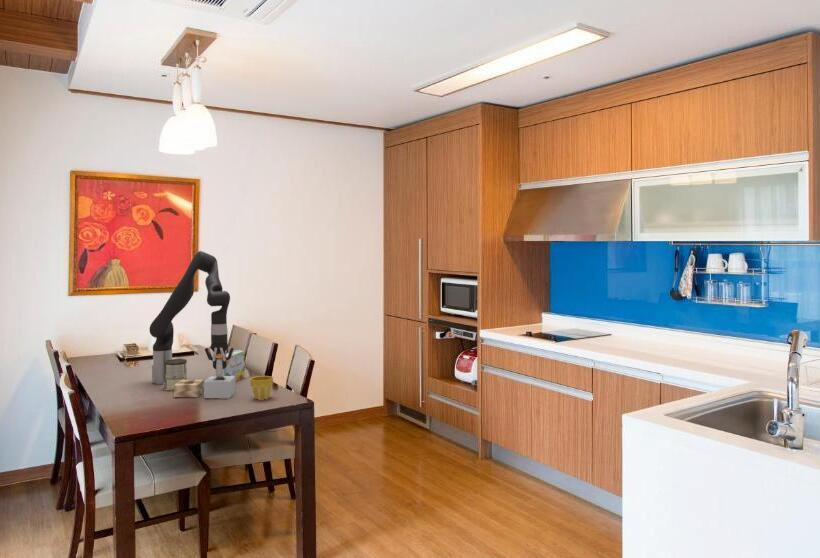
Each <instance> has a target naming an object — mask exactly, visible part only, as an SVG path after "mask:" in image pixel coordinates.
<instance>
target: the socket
mask: <svg viewBox="0 0 820 558" xmlns="http://www.w3.org/2000/svg"><path fill="white" fill-rule="evenodd" d="M236 391H237V389H236V382H235V376H224V380H216V375H215V376H212V375H211V376H209V377H207V379H206V380H204V392H203V399H204V398H219V399H231V398H232V397H233V396H234V394H235V393H236ZM232 395H233V396H232ZM231 396H232V397H231ZM230 397H231V398H230Z"/></svg>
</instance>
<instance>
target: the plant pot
mask: <svg viewBox="0 0 820 558" xmlns="http://www.w3.org/2000/svg"><path fill="white" fill-rule="evenodd" d="M249 381H250V382H249V383H250V387H251V388H252V392H253V396H254V399H255V400H256V399H258V400H257V401H265V400H264V399H266V400H269V399H270V397H271V396H270V395H271V390H272V386H274V377H272V376H271V375H270V376H269V375H257V376H253V377H250V380H249ZM268 398H269V399H268Z"/></svg>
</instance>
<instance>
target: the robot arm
mask: <svg viewBox="0 0 820 558" xmlns="http://www.w3.org/2000/svg"><path fill="white" fill-rule="evenodd" d="M198 270H199V271H202V272H203V273H207V274H208V275H206V276H207V277H206V278H205V281H204V283H205V287H206V290H207V295H206V303H207V304H208V305H209V306H210V307H221V308H220V309H218V310H214V311H212V312H211V314H210V318H211V319H210V323H211V324H210V343H211V344H210V346H209V347H205V348H204V351H205V354H206V356H207V359H208V360H209V361H212V368H213V369H214V370H216V358H215V357H216V355H217V354H222V357H223V369H225V368H226V367H227V360H229V359H230V358H231V356H232V353H233V351H235V347H232V346H229V343H228V342H229V341H228V324H227V321H228V320H227V319H228V318H227V317H228V316H227V313H228V309H229V305H230V302H231V295H230V293H229V292H228V291H226V290H223V286H222V282H221V279H220V276H219V265H218V260H217V258H216V257H215V256H213V255H211V254H210V253H207V252H205V251H202V250H200V251H198V252H196V253H195V254H194V256H193V257H192V260H191V261H190V263H189V265H188V266H187V269H186V271H184V275H183V276H182V278H181V279H180V281H179V282H178V283H177V285H176V286H175V288H174V290H173V292H171V294H170V296H169V298H168V299H167V302H165V304H164V306H163V308H162V309H161V311H159V313H158V315H157V316H156V317H155V318H154V319H153V320H152V322H151V323H150V325H149V334H150V336H151V337H153V338H155V339H156V340H155V342H154V343H153V344H152V365H151V383H155V385H165V384H164V383H166V377H165V361H167V360H172V359H173V344H174V325H173V324H174V323H173V322H172V321H173V320H174V318H175V317H176V316H177V315H178V314H179V313H180V312H181V311H182V310H183V309H184V308H185V307H186V306H187V305H188V304H189V302H190V301H191V299H192V298H193V297H194V292H195V288H194V287H195V286H194V280H195V279H194V277H195V275H196V273H197V271H198ZM227 350H228V353H229V355H228V357H226V354H227ZM211 351H212V352H213V356H212V354H211V353H212V352H211Z"/></svg>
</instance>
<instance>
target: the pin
mask: <svg viewBox="0 0 820 558" xmlns="http://www.w3.org/2000/svg"><path fill="white" fill-rule="evenodd" d="M215 358H216V369H215V376H216V380H224V369H223V357H222V354H217V355H216V357H215Z"/></svg>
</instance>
